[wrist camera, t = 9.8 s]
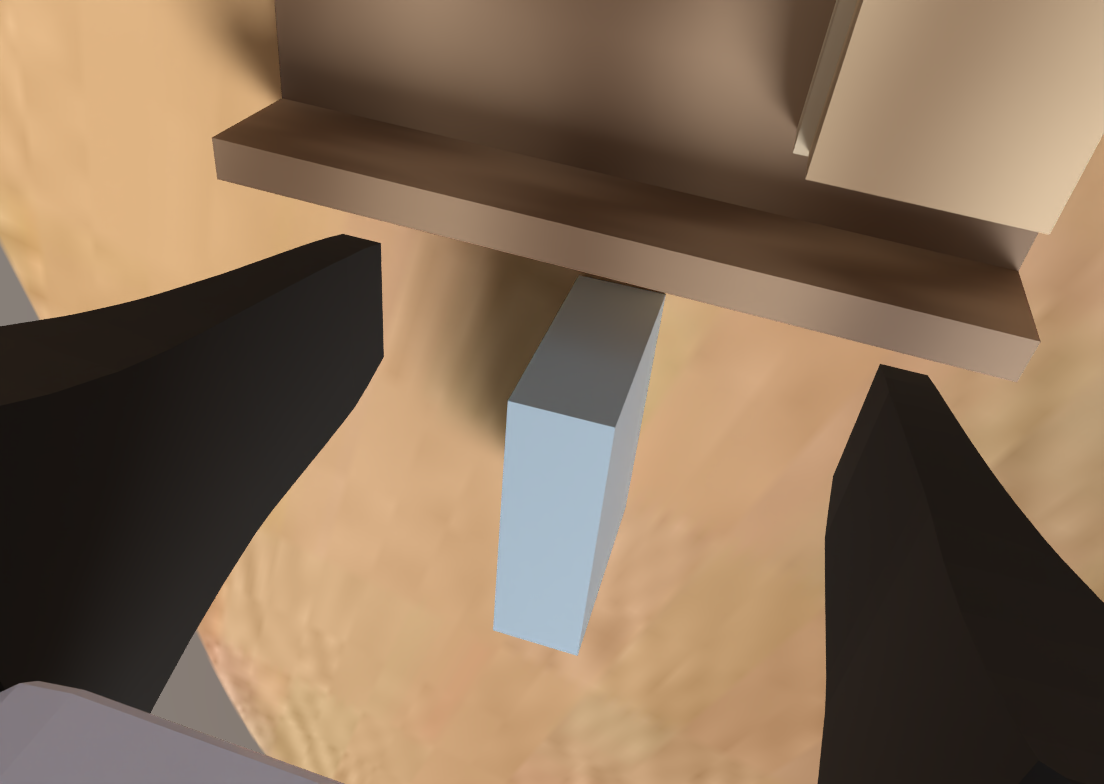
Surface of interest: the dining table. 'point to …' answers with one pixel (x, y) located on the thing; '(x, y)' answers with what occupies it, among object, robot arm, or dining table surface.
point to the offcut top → (966, 106)
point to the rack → (626, 161)
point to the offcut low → (823, 75)
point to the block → (572, 459)
